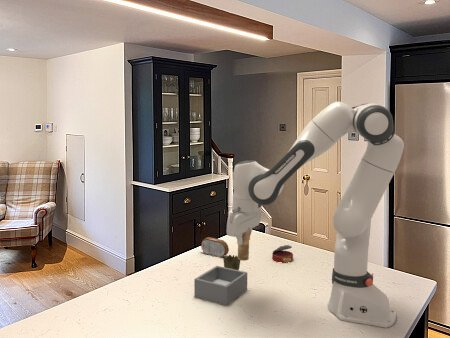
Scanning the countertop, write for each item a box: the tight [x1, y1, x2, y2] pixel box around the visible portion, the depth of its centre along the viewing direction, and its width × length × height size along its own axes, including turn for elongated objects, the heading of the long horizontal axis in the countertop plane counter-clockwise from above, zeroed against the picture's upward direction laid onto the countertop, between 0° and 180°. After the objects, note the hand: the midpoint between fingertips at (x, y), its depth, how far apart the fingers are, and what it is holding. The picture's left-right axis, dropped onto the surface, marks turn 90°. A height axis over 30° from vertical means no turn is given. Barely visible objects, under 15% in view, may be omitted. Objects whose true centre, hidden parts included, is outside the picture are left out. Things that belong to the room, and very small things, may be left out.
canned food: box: [271, 244, 294, 264], centre depth 186 cm, size 11×10×10 cm
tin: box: [200, 236, 230, 258], centre depth 192 cm, size 15×3×8 cm, turn 58°
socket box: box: [193, 265, 248, 307], centre depth 149 cm, size 14×16×7 cm
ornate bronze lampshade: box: [222, 254, 241, 271], centre depth 166 cm, size 8×7×8 cm
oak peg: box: [237, 227, 250, 262], centre depth 142 cm, size 4×4×12 cm
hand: (243, 242), depth 142 cm, fingers closed on oak peg, 4 cm apart
